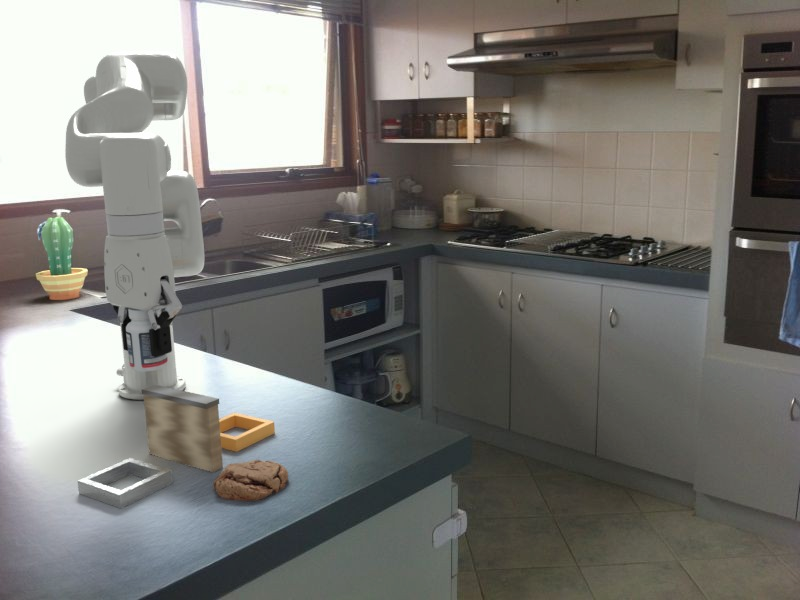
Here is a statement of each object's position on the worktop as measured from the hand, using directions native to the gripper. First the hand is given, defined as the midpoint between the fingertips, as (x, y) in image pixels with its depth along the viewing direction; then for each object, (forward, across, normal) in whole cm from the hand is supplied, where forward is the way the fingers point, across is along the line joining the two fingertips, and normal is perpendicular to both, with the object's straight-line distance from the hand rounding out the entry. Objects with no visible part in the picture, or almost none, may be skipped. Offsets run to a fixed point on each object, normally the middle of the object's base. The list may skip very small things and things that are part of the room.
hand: (147, 350), depth 115 cm
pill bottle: (+3, 0, 0) cm, 3 cm away
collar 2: (+19, 0, +16) cm, 25 cm away
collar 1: (+19, +1, -6) cm, 20 cm away
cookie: (+19, +15, +4) cm, 25 cm away
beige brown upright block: (+19, 0, +5) cm, 19 cm away
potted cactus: (+21, -132, +72) cm, 152 cm away
